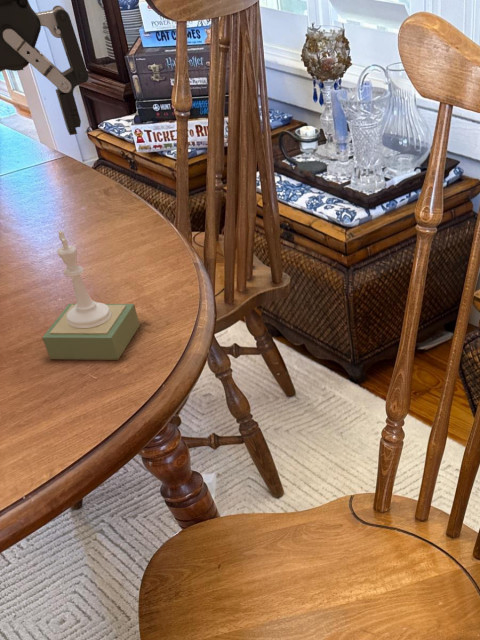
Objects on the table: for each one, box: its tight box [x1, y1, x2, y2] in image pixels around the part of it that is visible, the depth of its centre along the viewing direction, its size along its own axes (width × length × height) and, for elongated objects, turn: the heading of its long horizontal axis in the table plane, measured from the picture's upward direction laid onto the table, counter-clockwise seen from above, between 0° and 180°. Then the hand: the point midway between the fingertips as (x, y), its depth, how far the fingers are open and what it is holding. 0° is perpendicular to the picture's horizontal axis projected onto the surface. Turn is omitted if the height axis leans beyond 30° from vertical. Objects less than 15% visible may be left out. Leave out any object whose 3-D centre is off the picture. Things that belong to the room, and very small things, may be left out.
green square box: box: [41, 303, 141, 361], centre depth 90 cm, size 8×8×3 cm
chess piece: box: [56, 230, 112, 328], centre depth 86 cm, size 5×5×10 cm
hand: (27, 139), depth 77 cm, fingers open, 8 cm apart
